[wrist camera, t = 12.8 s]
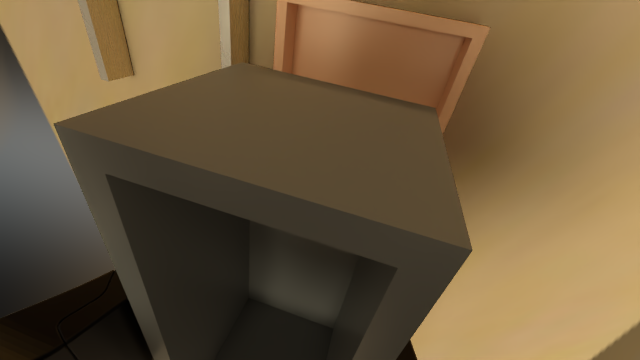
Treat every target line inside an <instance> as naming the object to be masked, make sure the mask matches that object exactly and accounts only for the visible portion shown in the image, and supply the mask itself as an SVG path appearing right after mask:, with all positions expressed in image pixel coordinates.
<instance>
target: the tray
mask: <svg viewBox="0 0 640 360" xmlns="http://www.w3.org/2000/svg"><path fill="white" fill-rule="evenodd" d="M490 28H491V27H487V26H484V25H480V24H474V23H469V22H464V21H458V20H453V19H448V18H442V17H437V16H432V15H427V14H421V13H416V12H411V11H405V10H400V9H395V8H389V7H384V6H379V5H374V4H368V3H363V2H358V1H352V0H277V11H276V30H275V49H274V68H273V70H278V71H282V72H286V73H290V74H294V75H299V76H303V77H307V78H311V79H316V80H320V81H324V82H328V83H332V84H337V85H341V86H345V87H349V88H353V89H358V90H362V91H366V92H370V93H375V94H379V95H383V96H387V97H391V98H396V99H400V100H404V101H408V102H412V103H417V104H421V105H425V106H429V107H434V108H436V112H437V115H438V119H439V123H440V127H441V131H442V135H443V133H444V131H445V129H446V126H447V124H448V122H449V120H450V117H451V115H452V113H453V111H454V109H455V106H456V104H457V102H458V100H459V97H460V95H461V93H462V91H463V88H464V86H465V84H466V82H467V79H468V77H469V75H470V73H471V71H472V68H473V66H474V64H475V62H476V59H477V57H478V55H479V53H480V50H481V48H482V46H483V44H484V41H485V39H486V37H487V35H488V33H489V30H490Z"/></svg>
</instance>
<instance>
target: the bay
mask: <svg viewBox="0 0 640 360" xmlns="http://www.w3.org/2000/svg"><path fill="white" fill-rule="evenodd" d="M78 3H79V6H80V10H81V13H82V17H83V20H84V23H85V27H86V30H87V34H88V37H89V40H90V44H91V47H92V50H93V54H94V57H95V61H96V64H97V67H98V71H99V74H100V77H101V79H102V80H105V81H112V80H116V79H120V78H124V77H128V76H132V75H134V74H133V70H132V65H131V61H130V57H129V52H128V48H127V43H126V39H125V35H124V30H123V26H122V21H121V17H120V13H119V8H118V4H117V0H78ZM218 6H219V25H220V45H221V65H222V68H225V67H228V66H231V65H234V64H237V63H240V62H244V63H248V64H249V0H218Z"/></svg>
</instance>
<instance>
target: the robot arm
mask: <svg viewBox="0 0 640 360" xmlns="http://www.w3.org/2000/svg"><path fill="white" fill-rule="evenodd" d="M0 360H154V359H153V356H152V354H151V352H150V349H149V347H148V344H147V342H146V340H145V337H144V335H143V333H142V330H141V328H140V326H139V323H138V321H137V319H136V316H135V314H134V312H133V309H132V307H131V305H130V302H129V300H128V297H127V295H126V293H125V290H124V288H123V286H122V283H121V281H120V279H119V276H118V274H117V272H116V269H115V271H114V270H112V271H110V272H108V273H106V274H104V275H102V276H100V277H97V278H95V279H93V280H91V281H89V282H87V283H84V284H82V285H80V286H78V287H75V288H73V289H71V290H68V291H66V292H64V293H61V294H59V295H57V296H54V297H52V298H49V299H47V300H44V301H42V302H39V303H37V304H34V305H32V306H29V307H27V308H24V309H22V310H20V311H17V312H15V313H12V314H10V315H7V316H5V317H2V318H0ZM396 360H417V357H416V354H415V352H414V349H413V346H412V343H411V340H409V342H408V343H407V344H406V346H405V347H404V349H403V350H402V351H401V353H400V354H399V356H398V357H397V359H396Z"/></svg>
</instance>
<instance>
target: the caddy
mask: <svg viewBox="0 0 640 360" xmlns="http://www.w3.org/2000/svg"><path fill="white" fill-rule="evenodd" d="M54 126H55V128H56V131H57V133H58V135H59V138H60V140H61V142H62V145H63V147H64V150H65V152H66V154H67V157H68V159H69V161H70V164H71V166H72V168H73V171H74V173H75V175H76V178H77V180H78V182H79V185H80V187H81V189H82V192H83V194H84V196H85V199H86V201H87V204H88V206H89V208H90V211H91V213H92V215H93V218H94V220H95V222H96V224H97V227H98V229H99V232H100V234H101V236H102V239H103V241H104V243H105V246H106V248H107V251H108V253H109V255H110V258H111V260H112V262H113V265H114V267H115V269H116V272H117V274H118V276H119V279H120V281H121V283H122V286H123V288H124V290H125V293H126V295H127V297H128V300H129V302H130V305H131V307H132V309H133V312H134V314H135V316H136V319H137V321H138V323H139V326H140V328H141V330H142V333H143V335H144V337H145V340H146V342H147V344H148V347H149V349H150V352H151V354H152V356H153V359H154V360H396V359H397V357H398V356H399V354H400V353H401V351H402V350H403V349H404V347H405V346H406V344H407V343H408V342H409V340H410V339H411V337H412V336H413V334H414V333H415V332H416V330H417V329H418V327H419V326H420V324H421V323H422V322H423V320H424V319H425V317H426V316H427V314H428V313H429V312H430V310H431V309H432V307H433V306H434V304H435V303H436V302H437V300H438V299H439V297H440V296H441V294H442V293H443V292H444V290H445V289H446V287H447V286H448V285H449V283H450V282H451V280H452V279H453V277H454V276H455V275H456V273H457V272H458V270H459V269H460V267H461V266H462V265H463V263H464V262H465V260H466V259H467V257H468V256H469V255H470V253H471V252H472V247H471V243H470V239H469V235H468V231H467V228H466V224H465V220H464V216H463V212H462V208H461V204H460V200H459V197H458V193H457V189H456V185H455V181H454V177H453V173H452V170H451V166H450V162H449V158H448V154H447V150H446V146H445V142H444V139H443V135H442V131H441V127H440V123H439V119H438V115H437V112H436V108H434V107H429V106H425V105H421V104H417V103H412V102H408V101H404V100H400V99H396V98H391V97H387V96H383V95H379V94H375V93H370V92H366V91H362V90H358V89H353V88H349V87H345V86H341V85H337V84H332V83H328V82H324V81H320V80H316V79H311V78H307V77H303V76H299V75H294V74H290V73H286V72H282V71H278V70H273V69H269V68H265V67H261V66H257V65H252V64H248V63H244V62H240V63H237V64H234V65H231V66H228V67H225V68H222V69H219V70H216V71H213V72H210V73H207V74H204V75H201V76H198V77H195V78H192V79H189V80H186V81H182V82H179V83H176V84H173V85H170V86H167V87H164V88H161V89H158V90H155V91H152V92H149V93H146V94H143V95H140V96H137V97H134V98H131V99H127V100H124V101H121V102H118V103H115V104H112V105H109V106H106V107H103V108H100V109H97V110H94V111H91V112H88V113H85V114H82V115H79V116H76V117H72V118H69V119H66V120H63V121H60V122H57V123H54Z"/></svg>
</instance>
